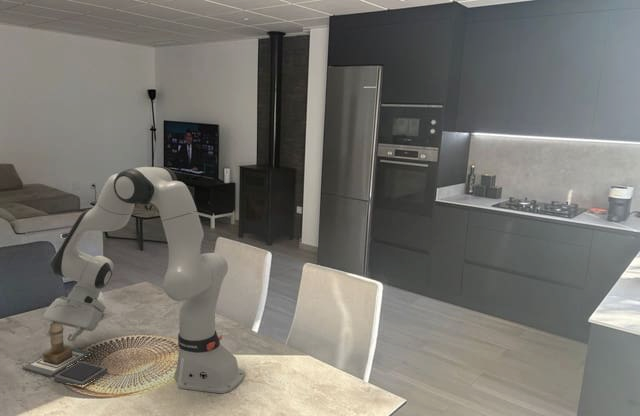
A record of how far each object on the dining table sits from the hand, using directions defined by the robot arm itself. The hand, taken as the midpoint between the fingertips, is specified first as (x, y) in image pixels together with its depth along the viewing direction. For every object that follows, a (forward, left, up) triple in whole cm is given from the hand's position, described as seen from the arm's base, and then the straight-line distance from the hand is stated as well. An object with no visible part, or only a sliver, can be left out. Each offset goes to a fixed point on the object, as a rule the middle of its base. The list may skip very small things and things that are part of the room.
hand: (59, 338), depth 155 cm
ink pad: (-14, +5, -8) cm, 17 cm away
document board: (0, +1, -8) cm, 8 cm away
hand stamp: (0, +1, -7) cm, 7 cm away
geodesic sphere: (+19, -30, -8) cm, 37 cm away
